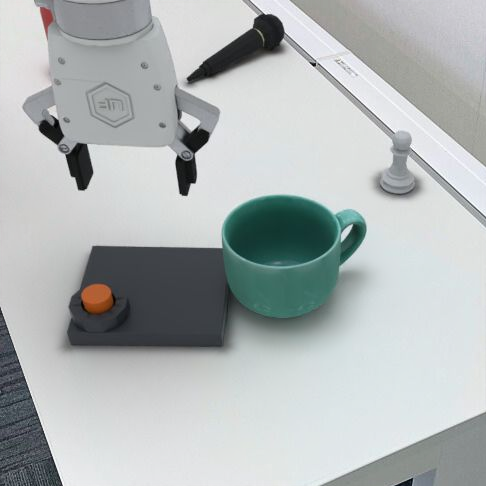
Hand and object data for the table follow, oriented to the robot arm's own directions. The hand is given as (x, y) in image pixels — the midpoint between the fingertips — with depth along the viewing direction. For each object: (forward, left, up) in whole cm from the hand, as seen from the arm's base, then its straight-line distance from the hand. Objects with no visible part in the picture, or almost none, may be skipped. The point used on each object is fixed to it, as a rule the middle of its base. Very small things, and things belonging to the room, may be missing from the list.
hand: (136, 185), depth 74 cm
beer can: (-19, +52, -16) cm, 57 cm away
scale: (0, +1, -16) cm, 16 cm away
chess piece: (+29, +24, -16) cm, 41 cm away
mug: (+16, +3, -16) cm, 23 cm away
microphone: (+5, +57, -16) cm, 59 cm away
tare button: (-5, -3, -13) cm, 14 cm away
